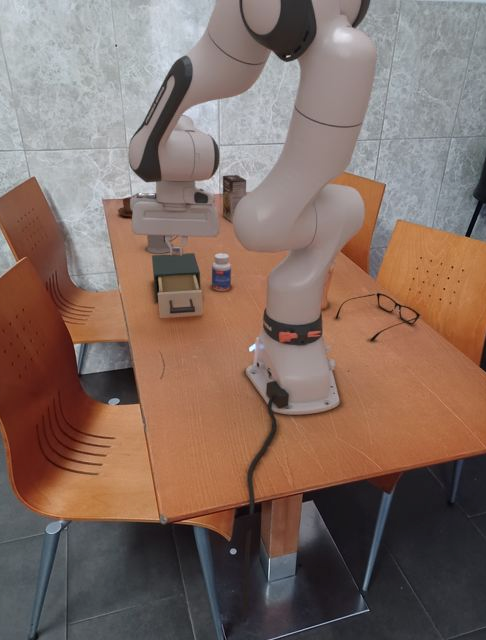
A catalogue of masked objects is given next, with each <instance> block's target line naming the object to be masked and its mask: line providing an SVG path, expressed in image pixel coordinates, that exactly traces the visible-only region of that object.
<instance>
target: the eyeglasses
mask: <svg viewBox="0 0 486 640" xmlns="http://www.w3.org/2000/svg"><path fill="white" fill-rule="evenodd" d="M372 296H376V297H377V305H378V307H379V308H380V309H381V310H383V311H385V312H386V313H387V312H388V313H392V312H394V311H395V309H397V307H398V311H397V314H399V317H400V320H402V322H400V323H397V324H395V325H392V326H391V325H390V326H389V327H386V328H384V329H382V330H380V331H378V332H377V333H375V334H374V335H373V336H372V337H371V338H370V340H369V341H375V340H376V339H377V337H379V335H380V334H382V333H383V332H385V331H387V330H389V329H390V328H393V327H395V326H398V325H399V326H400V325H402V324H405V323H406V324H409V325H414V324H415V323H416V322H417V321H418V319H420V318H421V314H420V313H418V312H417V311H416V310H415V309H414V308H411V307H410V306H407V305H402V304H400V303H398V302H396V301H395V300H394V299H393V298H391V297H390V296H388V295H387V294H383V293H381V292H377V293H371V294H368V295H362V296H358V297H357V296H356V297H352V298H349V299H347V300H345V301H344V302H343V303H342V304H341V305H340V306H339V308H338V311H337V312H336V317H335V319H336V320H337V319H339V315H340V312H341V309H342V307H343V305H344V304H345V303H347V302H348V301H351V300H355V299H361V298H367V297H372ZM381 296H382V297H385V298H388V299H389V300H391V302H392V303H393V304H394V307H393V308H392V309H391V310H387V309H385V308H383V307H382V306H381V305H380V297H381ZM401 308H405V309H407V310H410V311H412V312H413V313H415V317H413V318H411V319H409V320H405V319H404V318H403V317H402V314H401V313H402V312H401V311H402V309H401ZM411 321H412V322H411Z"/></svg>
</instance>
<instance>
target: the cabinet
mask: <svg viewBox="0 0 486 640" xmlns="http://www.w3.org/2000/svg"><path fill="white" fill-rule="evenodd" d="M151 261H152V274H153V286H154V296H155V297H154V299H155V303H158V293H159V285H158V276H173V275H191V274H196V278H197V282H198V286H199V290H201V271H200V268H199V264H198V261H197V257H196V253H194V252H191V253H183V255H182V256H180V255H170V253H169V254H152V255H151Z"/></svg>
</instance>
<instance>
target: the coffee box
mask: <svg viewBox="0 0 486 640" xmlns="http://www.w3.org/2000/svg"><path fill="white" fill-rule="evenodd" d="M246 195H247V179H246V178H244V177H241V176H239V175H238V174H233V175H232V174H230V175H229V174H228V175H222V216H223V217H224V218H225V219H227V220H228V221H229V222H231V223H233V215H234V211H235V208H236V206H237V204H238V202H239V201H240V200H241V198H243V197H244V196H246Z"/></svg>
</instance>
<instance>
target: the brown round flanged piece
mask: <svg viewBox="0 0 486 640" xmlns="http://www.w3.org/2000/svg"><path fill="white" fill-rule="evenodd" d="M131 197H132V196H129V197H125V198H123V199H122V206H123V207H120V208H118V210H117V212H118V214H119V215H121V216H123V217H128V218H132V214H133V212H132V211H131V209H130V199H131ZM134 198H137V197H134Z"/></svg>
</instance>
